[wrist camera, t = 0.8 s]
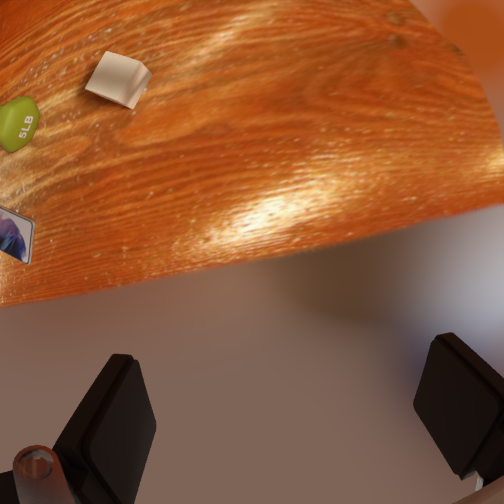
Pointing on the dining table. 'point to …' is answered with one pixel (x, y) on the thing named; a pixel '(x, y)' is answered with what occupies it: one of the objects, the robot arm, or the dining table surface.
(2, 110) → the dumbbell
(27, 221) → the smartphone
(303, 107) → the dining table surface
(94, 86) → the maple block
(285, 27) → the dining table surface
